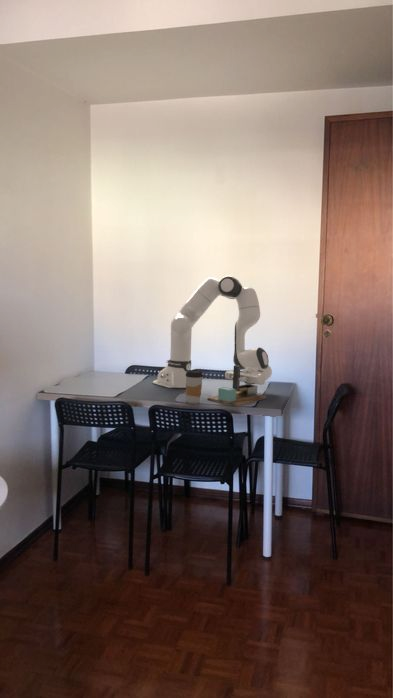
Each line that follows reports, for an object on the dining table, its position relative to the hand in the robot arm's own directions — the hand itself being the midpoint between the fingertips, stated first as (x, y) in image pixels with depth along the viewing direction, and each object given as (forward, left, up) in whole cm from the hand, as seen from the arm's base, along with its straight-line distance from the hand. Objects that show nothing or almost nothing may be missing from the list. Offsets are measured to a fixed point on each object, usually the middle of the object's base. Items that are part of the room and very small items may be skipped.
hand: (235, 379), depth 288 cm
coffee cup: (-11, -19, -11) cm, 25 cm away
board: (0, +3, -11) cm, 11 cm away
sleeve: (0, +11, -10) cm, 15 cm away
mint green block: (0, -7, -11) cm, 12 cm away
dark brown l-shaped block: (0, +2, -9) cm, 9 cm away
